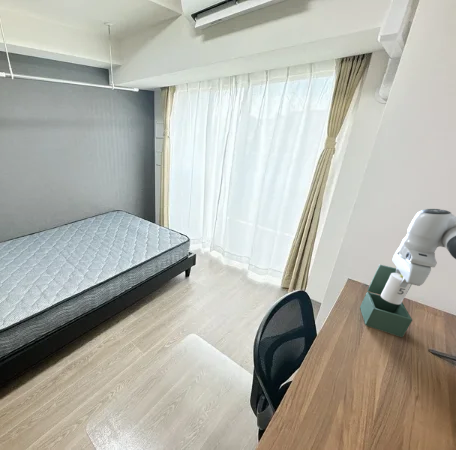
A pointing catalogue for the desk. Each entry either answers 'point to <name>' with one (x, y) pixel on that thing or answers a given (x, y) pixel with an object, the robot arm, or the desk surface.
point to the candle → (394, 289)
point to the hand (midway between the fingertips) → (399, 282)
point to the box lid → (381, 279)
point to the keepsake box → (385, 315)
